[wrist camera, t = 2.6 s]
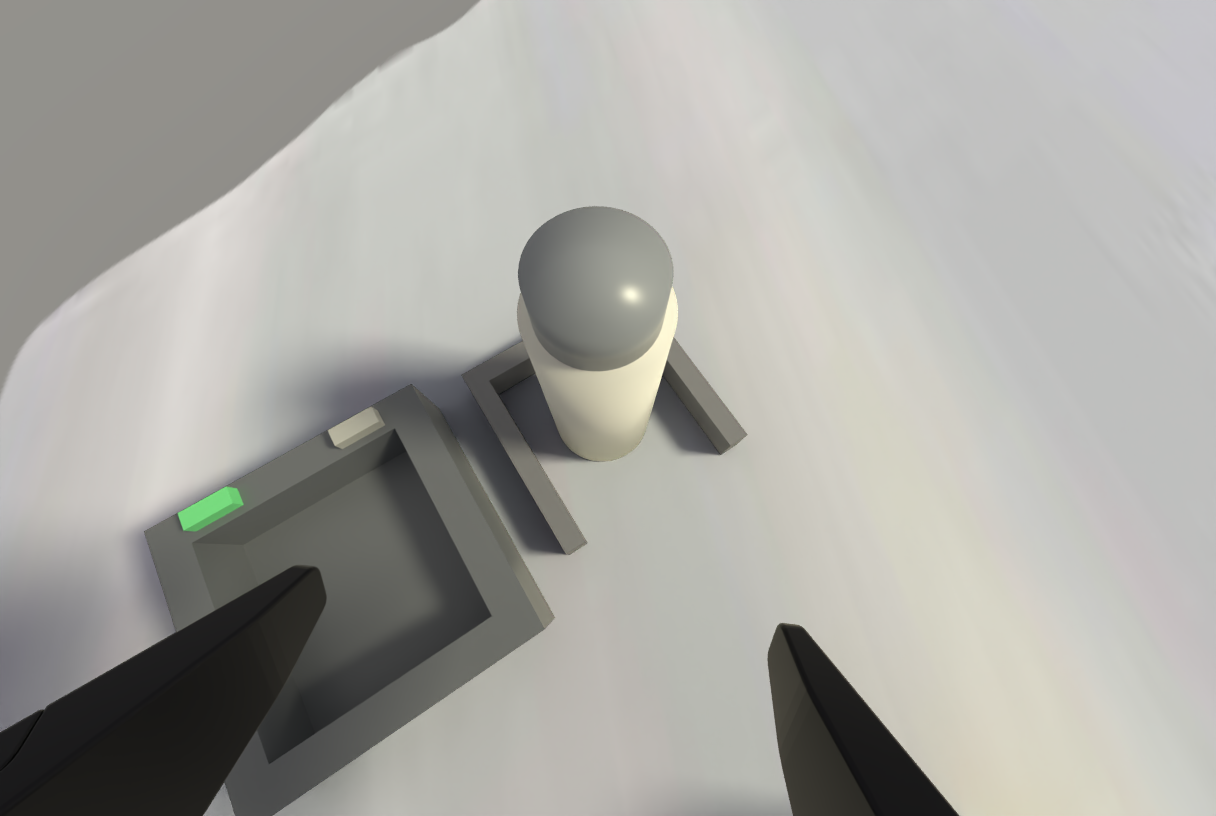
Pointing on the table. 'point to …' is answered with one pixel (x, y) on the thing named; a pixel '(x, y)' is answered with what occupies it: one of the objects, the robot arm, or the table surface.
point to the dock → (357, 585)
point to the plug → (597, 325)
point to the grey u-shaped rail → (485, 389)
